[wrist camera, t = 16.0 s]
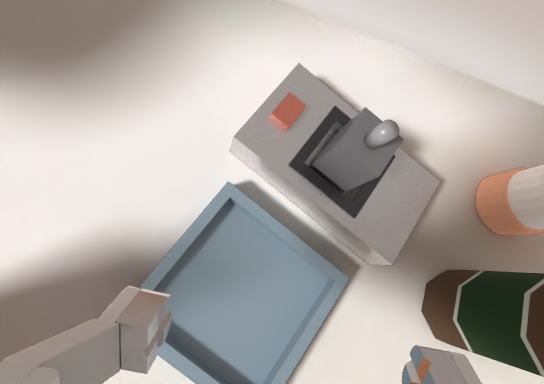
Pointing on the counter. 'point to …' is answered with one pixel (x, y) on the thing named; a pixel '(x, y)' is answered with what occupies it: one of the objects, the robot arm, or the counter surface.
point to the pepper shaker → (513, 201)
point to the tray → (242, 295)
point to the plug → (357, 151)
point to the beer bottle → (490, 315)
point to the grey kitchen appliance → (317, 191)
